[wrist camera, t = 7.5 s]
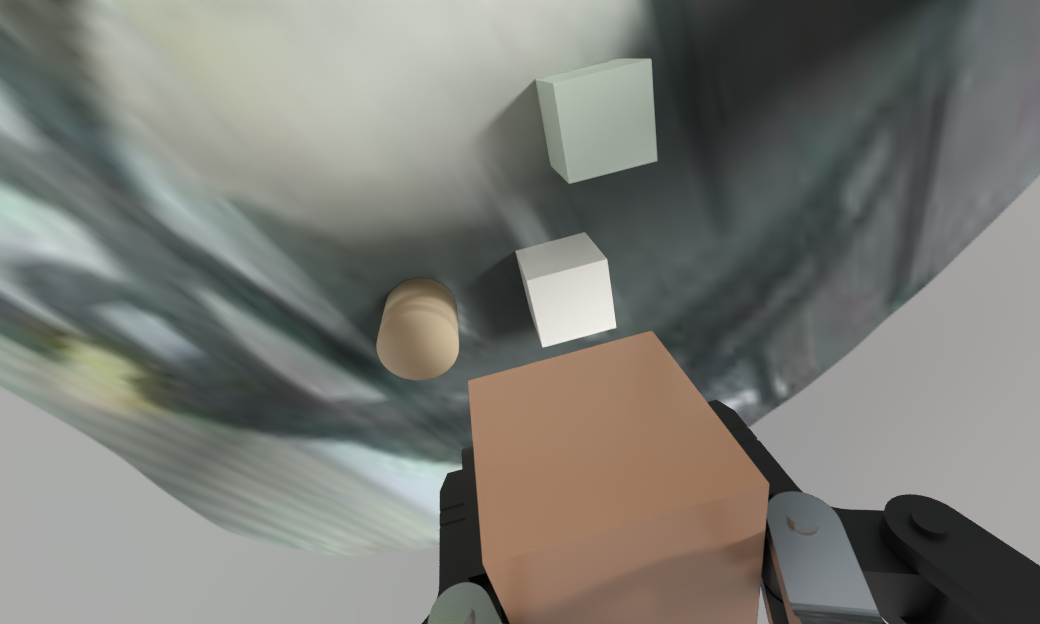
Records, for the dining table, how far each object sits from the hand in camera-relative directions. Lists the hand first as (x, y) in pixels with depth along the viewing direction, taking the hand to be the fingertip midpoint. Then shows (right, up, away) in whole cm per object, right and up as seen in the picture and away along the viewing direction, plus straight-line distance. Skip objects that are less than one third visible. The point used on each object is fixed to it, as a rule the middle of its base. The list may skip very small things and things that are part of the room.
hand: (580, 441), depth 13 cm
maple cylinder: (-9, +4, +20) cm, 22 cm away
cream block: (+1, +6, +20) cm, 21 cm away
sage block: (+2, +16, +15) cm, 22 cm away
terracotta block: (0, 0, +1) cm, 1 cm away
